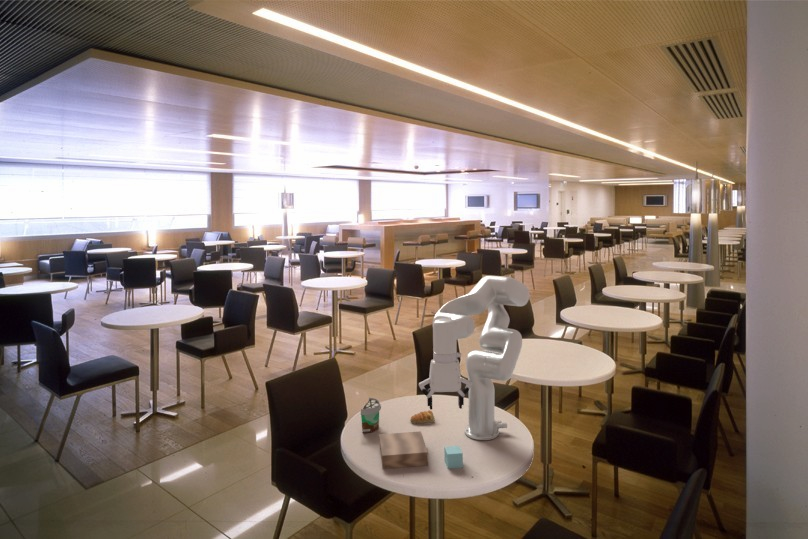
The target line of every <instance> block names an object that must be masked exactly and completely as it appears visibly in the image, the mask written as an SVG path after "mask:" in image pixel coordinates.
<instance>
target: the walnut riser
mask: <svg viewBox="0 0 808 539" xmlns="http://www.w3.org/2000/svg"><path fill="white" fill-rule="evenodd" d="M378 440H379V452H380V460H381V466H382V467H381V469H382V470H385V469H394V468H407V467H408V468H409V467H422V466H423V467H424V466H429V458H428V457H429V454H428V448H427V447H426V446H427V445H426V442H425V439H424V436H423V433H422V431H421V430H420V431H419V430H418V431H410V432H409V431H407V432H396V433H395V432H394V433H393V432H392V433H382V434H381V433H380V434H379V439H378Z"/></svg>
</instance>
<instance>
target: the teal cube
mask: <svg viewBox="0 0 808 539" xmlns="http://www.w3.org/2000/svg"><path fill="white" fill-rule="evenodd" d="M443 452H444V463H445V465H446V468H447V469H448V470H449V469H461V468H464V467H463V466H464V463H463V462H464V461H463V458H464V457H463V451H462V449H461V447H460V445H453V446H444V451H443Z"/></svg>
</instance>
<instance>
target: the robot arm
mask: <svg viewBox="0 0 808 539" xmlns="http://www.w3.org/2000/svg"><path fill="white" fill-rule="evenodd" d="M530 296H531V295H530V290H529V287H528V286H527V285H526V284H525V283H523V282H521V281H520V280H518V279H515V278H513V277H511V276H503V275H501V276H500V275H485V276H482V278H481V279H480V280H479V281H478V282H477V283H476V284H475V285H474V287H472V289H471V290H470V291H469V292H468V293H467V294H465V295H461V296H459V297H456V298H454V299H452V300H449V301H447V302H446V303H444V304H443V305H442V306H441V307H440V308H439V309H438V311H437V312H436V313H435V314H434V317H433V318H432V346H433V348H432V351H433V352H432V353H433V354H432V355H433V359H431V360H430V363H429V364H430V365H429V375H428V376H429V377H428V378H426V379H424V380H423V381H420V382H418V387H419V389H420V390H421V392H422V393H423V394H424V395H425V396H426V397H427V398H426V401H427V406H428V407H429V410H430V411H432V410H433V394H435V393H457V394H458V397H457V398H458V400H457V401H458V408H459V409H461V410H462V409H463V406H464V404H465V401H464V400H465V399H464V397H465V396H466V394H468V424H467V425H466V426H465V427H464V433H465V435H466V436H467V437H468V438H470V439H473V440H476V441H477V440H478V441H489V440H493V439H495V438H497V437H498V436H499V430H500V429H507V428H508V423H507V422H503V421H502V420H497V421H496V420H495V386H494V382H493V380H495V381H500V382H508V381H509V380H510V379H511V378H512V376H513V374H514V371H515V368H516V365H517V362H518V360H519V356H520V354H521V351H522V347H523V337H522V334H521V332H520V331H519V330H517V329H514V328H508V327H509V325H510V322H511V321H510V320H511V319H510V316H509V313H508V312H507V310H506V308H505V307H504V306H513V307H524V306H526V305H527V304H528V302H529V300H530ZM486 310H487V312H488V313H487V318H486V319H485V320H486V321H485V323H484V325H483V328H482V330H481V332H480V334H479V339H478V345H479V348H481V349H473V350H471V351H470V352H468V353H467V355H466V357H465V368H466V374H467V379H466V378H464V377H462V375H461V366H460V362H459V361H460V360H459V359H458V358H462V353H461V352H458V351H457V349H458V348H457V340H460V339H466V338H469V337H470V336H471V335H472V334H473V333H474V331H475V329H476V322H475V320H474V319H473V318H472V317H471V316H475V315H480V314H483V313H485V312H486ZM482 349H483V350H482ZM462 383H463V384H465V387H463V389H462ZM426 385H429V387H430V388H428V389H427V388H425V386H426Z"/></svg>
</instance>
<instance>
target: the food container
mask: <svg viewBox="0 0 808 539" xmlns="http://www.w3.org/2000/svg"><path fill="white" fill-rule="evenodd" d="M381 409H382V404H381V402H380V400H378V398H375V397H368V401H367V402H366V403H365V405H364V406H363V408H361V409H360V415H361V416H360V417H361V430H362V432H361V433H362V434H371V433H374V432H377V431H378V430H379V426H380V425H379V424H380V412H381Z"/></svg>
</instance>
